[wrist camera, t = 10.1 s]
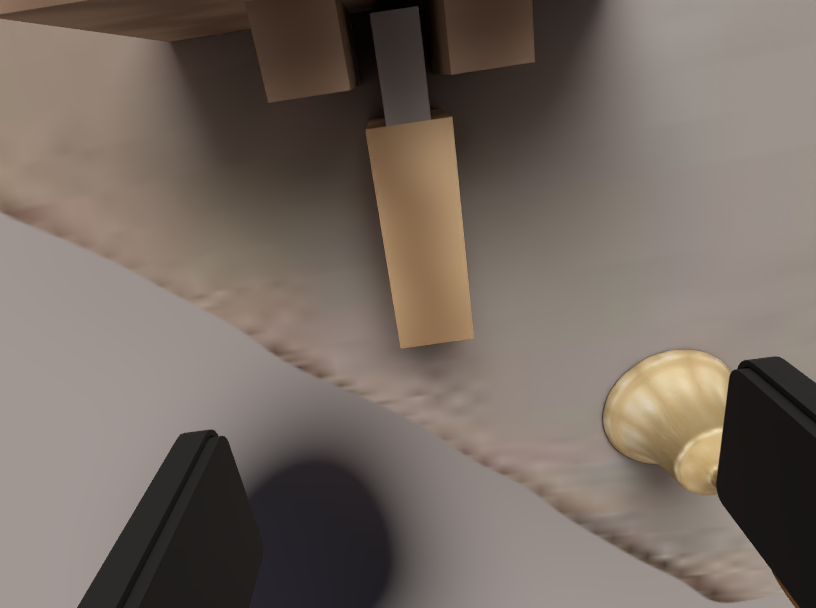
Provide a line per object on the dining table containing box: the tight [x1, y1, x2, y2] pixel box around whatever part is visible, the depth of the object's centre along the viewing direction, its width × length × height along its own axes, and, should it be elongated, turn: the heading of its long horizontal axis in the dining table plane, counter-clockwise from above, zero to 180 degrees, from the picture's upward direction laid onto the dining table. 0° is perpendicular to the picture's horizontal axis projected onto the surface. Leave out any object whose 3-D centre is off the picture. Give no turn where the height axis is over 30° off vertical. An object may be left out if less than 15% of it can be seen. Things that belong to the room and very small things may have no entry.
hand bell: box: [603, 350, 800, 608], centre depth 26 cm, size 8×8×16 cm
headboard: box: [0, 0, 535, 103], centre depth 19 cm, size 20×5×12 cm, turn 98°
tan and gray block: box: [365, 6, 474, 349], centre depth 25 cm, size 4×14×5 cm, turn 8°
